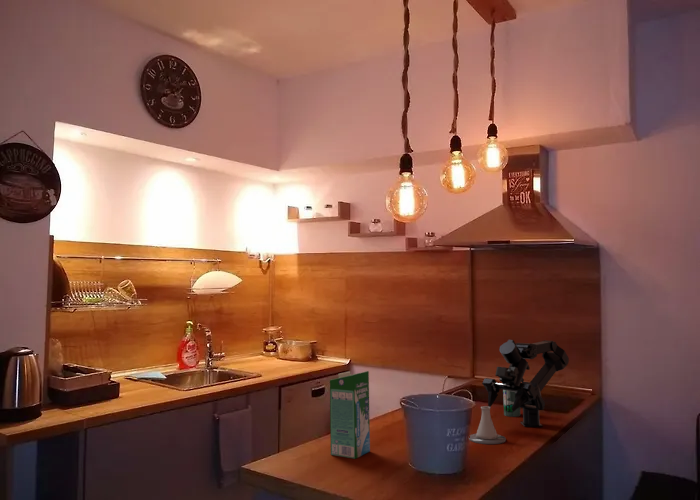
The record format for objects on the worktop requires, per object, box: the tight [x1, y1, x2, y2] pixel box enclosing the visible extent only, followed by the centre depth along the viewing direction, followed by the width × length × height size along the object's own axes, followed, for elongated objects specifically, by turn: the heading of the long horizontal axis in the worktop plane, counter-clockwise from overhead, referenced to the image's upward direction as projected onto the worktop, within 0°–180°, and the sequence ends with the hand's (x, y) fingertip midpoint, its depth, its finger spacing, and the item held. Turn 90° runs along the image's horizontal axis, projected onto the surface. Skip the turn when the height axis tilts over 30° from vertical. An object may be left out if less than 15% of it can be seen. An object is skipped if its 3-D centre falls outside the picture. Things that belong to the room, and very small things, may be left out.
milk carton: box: [329, 370, 371, 460], centre depth 171 cm, size 9×9×25 cm
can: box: [502, 390, 522, 418], centre depth 220 cm, size 6×6×15 cm
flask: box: [475, 405, 499, 439], centre depth 185 cm, size 7×7×10 cm
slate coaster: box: [468, 433, 507, 445], centre depth 184 cm, size 12×12×1 cm
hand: (500, 408), depth 190 cm, fingers open, 9 cm apart
